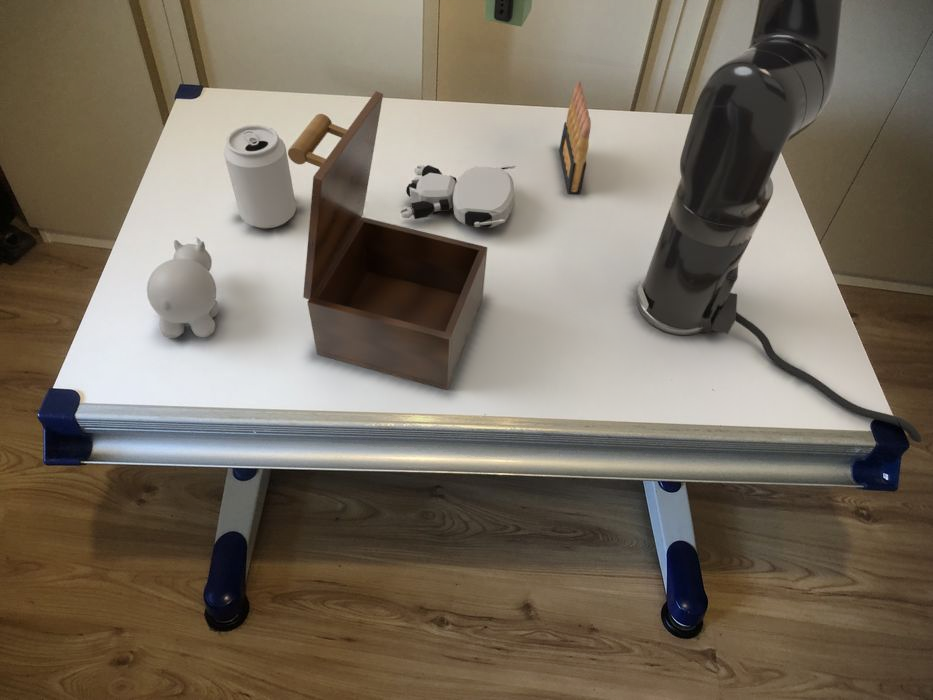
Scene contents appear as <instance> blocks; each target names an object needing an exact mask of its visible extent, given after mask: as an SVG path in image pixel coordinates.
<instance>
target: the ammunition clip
mask: <svg viewBox="0 0 933 700" xmlns="http://www.w3.org/2000/svg"><path fill="white" fill-rule="evenodd" d="M568 107H569V108H568V109H567V116H566V121H565V122H564V124H563V129H562V132H561V133H562V134H561V138H560V145H559V149H558V152H559V157H560V162H561V169H562V172H563V173H562V174H563V178H564V183H565V187H566V192H567V194H581V190H582V187H583V182H584V179H585V178H584V177H585V173H586V168H587V160H586V159H587V155H588V151H589V145H590V142H589V141H590V133H591V129H592V128H591V127H592V126H591V125H592V123H591V117H590V114H589V109H588V105H587V101H586V97H585V95H584V90H583V86H582V82H581V81H580V80H579V81H578V82H577V84H576V85H575V87H574V90H573V93H572V97H571V101H570V105H569V106H568Z"/></svg>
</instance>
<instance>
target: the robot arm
mask: <svg viewBox="0 0 933 700" xmlns="http://www.w3.org/2000/svg"><path fill="white" fill-rule="evenodd" d="M513 3H514V0H495V9H494V18H495V19H496V20H498V21H503V22H509V21H510V20H511V19H512V14H513ZM843 3H844V0H758V3H757V9H756V14H755V20H754V25H753V28H752V29H753V30H752V34H751V39H750V42H749V45H748V48H747V49H746V50H744V51H743V52H741V53H739V54H737V55H735V56H734V57H732V58H731V59H729V60H726V62H724V63H722V64H720V65H719V66H718V67H717V68H716V69H715V70H713V72H712V73H711V74H710V76H709V77H708V78H707V80H706V81H705V83H704V85H703V87H702V89H701V92H700V94H699V96H698V98H697V101H696V105H695V107H694V111H693V113H692V117H691V120H690V124H689V127H688V130H687V134H686V137H685V140H684V144H683V147H682V151H681V155H680V160H679V172H680V179H679V182H678V185H677V188H676V191H675V193H674V196H673V198H672V202H671V204H670V207H669V210H668V212H667V216H666V217H665V221H664V223H663V227H662V229H661V232H660V235H659V238H658V241H657V244H656V246H655V249H654V251H653V255H652V257H651V260H650V263H649V266H648V269H647V271H646V275H645V277H644V279H643V282H642V283H641V282H640V281H639V283H638V285H637V288H636V290H637V307H638V310H639V312H640V313H641V315H642V316H643V318H644V319H645V320H646V321H647V322H648V323H649V324H651V325H652V326H653V327H655V328H656V329H658V330H661V331H663V332H666V333H669V334H673V335H678V336H690V335H695V334H698V333H701V332H702V333H707V334H710V333H711V332H712V331H714V332H719V333H724V334H727V335H728V334H729V333H730V331H731V328H732V327H733V325H734V323H735V322H736V323H737V324H740V325H741V326H742V327H743V328H745V329H747V330H748V331H749V332H750V333H751V334H753V335H754V336H755V337H756V338H757V339H758V341H759V342H760V344H761V346H762V348H763V350H764V352H765V354H766V356H767V358H769V359H770V360H771V361H772V362H773V363H774V364H775V365H776V366H778V367H779V368H781V369H782V370H784V371H786V372H787V373H790V374H791V375H792V376H794V377H795V376H796V377H797V378H798V379H801V380H803V381H804V382H806V383H807V384H809V385H810V386H812V387H814V388H815V389H816V390H818V392H821V393H822V394H823V395H825V396H826V397H827V398H829V399H830V400H831V401H832V402H834V403H836V404H837V405H839V406H841V407H842V408H844V409H845V410H847V411H849V412H852V413H853V414H856V415H858V416H861V417H865V418H868V419H872V420H876V421H879V422H885V423H888V424H891V425H895V426H896V427H899V428H900V429H902V430H904V431H905V432H906V433H907V434H908V436H909V437H910V439H911V440H912V441H914V442H915V443H921V442H922V437H921V434H920V433H919V431H918V430H917V429H916V426H914V424H912V423H910V422H909V421H907V420H905V419H903V418H901V417H898V416H895V415H892V414H888V413H885V412H880V411H876V410H873V409H868V408H865V407H862V406H860V405H858V404H855V403H853V402H851V401H850V400H848V399H846V398H844V397H843V396H841V395H840V394H838V393H837V392H836V391H834V390H833V389H832V388H830V387H829V386H827V385H826V384H825V383H823V382H822V381H820V380H819V379H818V378H816V377H815V376H813V375H812V374H810V373H808V372H806V371H804V370H802V369H801V368H798V367H796V366H794V365H793V364H790V363H789V362H787V361H786V360H784V359H782V358H781V357H780V356H779V355H778V354H777V353H776V351H774V348H773V346H772V344H771V342H770V340H769V338H768V337H767V335H766V334H765V333H764V332H763V330H761V329H760V328H759V327H758V326H756V325H755V324H754V323H753V322H751V321H750V320H749V319H747V318H746V317H744V316H743V315H741V314H740V313H738V311H737V304H738V293H734V292H732V290H733V288H734V286H735V284H736V282H737V280H738V276H739V264H740V262H741V260H742V258H743V256H744V254H745V252H746V249H748V246H749V243H750V242H751V240H752V237H753V235H754V234H755V231H756V229H757V227H758V225H759V223H760V222H761V220H762V218H763V215H764V213H765V212H766V209H767V207H768V206H769V203H770V201H771V199H772V197H773V193H774V183H773V180H772V177H771V175H772V173H773V171H774V168H775V166H776V164H777V162H778V159H779V157H780V156H781V153H782V151H783V150H784V148H785V145H786V143H789V141H791V140H792V139H793V138H795V137H796V136H798V135H799V134H800V133H802V132H803V131H805V130H806V129H807V128H809V126H811V125H812V124H813V123H814V122H815V121H816V120H817V119H818V118H819V116H820V115H821V114H822V113H823V111H824V110H825V108H826V106H827V104H828V102H829V100H830V99H831V94H832V91H833V87H834V83H835V76H836V68H837V59H838V49H839V40H840V31H841V21H842V20H841V19H842V11H843ZM894 418H895V419H894ZM897 420H898V421H897ZM898 422H899V423H900V425H901V427H900V425H899V423H898Z"/></svg>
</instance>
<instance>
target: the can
mask: <svg viewBox="0 0 933 700" xmlns="http://www.w3.org/2000/svg"><path fill="white" fill-rule="evenodd" d="M223 156H224V160H225V164H226V167H227V168H226V169H227V171H228V176H229V179H230V183H231V187H232V191H233V195H234V199H235V203H236V206H237V209H238V214H239V216H240V218H241V220H243V221H244V222H245V223H246V224H247V225H250V226H251V227H255V228H259V229H274V228H277V227H278V228H279V227H280V226H282V225H284V224H286V223H287V222H288V221H289V220H290V219H291V218H293V216H294V215H295V213H296V211H297V203H296V198H295V197H296V196H295V192H294V186H293V180H292V175H291V170H290V165H289V164H290V163H289V157H288V151H287V146H286V144H285V142H284V140H283V139H282V138H281V137H280V136H279V134H278V132H277V131H276V130H275V129H273V128H272V127H269V126H267V125H263V124H248V125H243V126H240V127H238V128H235V129H234V130H233V131H231V132H230V133H229V134H228V136H227V137H226V144H225V146H224V148H223Z"/></svg>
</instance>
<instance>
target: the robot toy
mask: <svg viewBox="0 0 933 700" xmlns="http://www.w3.org/2000/svg"><path fill="white" fill-rule="evenodd" d="M516 167H517V165H514V164H510V165H506V166H500V167H490V166H477V165H475V166H473V167H471V168H469V169H467V170H466V171H464V172H463V173H462V174H460V176H459V177H458V178H456V177H455V176H453V175H447V174H443V173H442V171H441V170H440V169H439V168H437V167H435V166H433V165H430V164H428V165H424V164H419V165H417V166H416V167H415V168H414V170H413V173H414V174H416V177H414V178H413V179H411V183H409V184H408V185H407V187H406V190H405V192H406V195H407V196H408V197H409V198H410V202H411V207H410V206H404V207H402V208H400V210H399V211H400V215H401V217H402V218H404V219H409V218H411V217H413V218H414V220H417V219H423V218H427V217H429V216H430V215H431V214H432V213H435V212H436V213H437V212H442V213H443V212H447V211H450V210H451V209H453V214H454V217H455V219H456V220H457V221H458V222H460V223H461V224H463V225H464V226H467V227H474V228H486V229H487V228H494V227H497V226H499V225H501V224H505V222H506V221H507V219H508V218H509V216H510V214H511V213H512V210H513V207H514V206H515V184H514V180H513V177H512V176H511V175H510V174H509V172H507V171H506V170H509V169H510V170H512V169H515V168H516Z"/></svg>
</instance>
